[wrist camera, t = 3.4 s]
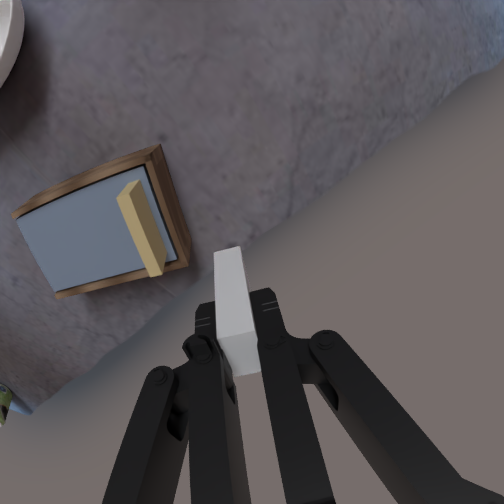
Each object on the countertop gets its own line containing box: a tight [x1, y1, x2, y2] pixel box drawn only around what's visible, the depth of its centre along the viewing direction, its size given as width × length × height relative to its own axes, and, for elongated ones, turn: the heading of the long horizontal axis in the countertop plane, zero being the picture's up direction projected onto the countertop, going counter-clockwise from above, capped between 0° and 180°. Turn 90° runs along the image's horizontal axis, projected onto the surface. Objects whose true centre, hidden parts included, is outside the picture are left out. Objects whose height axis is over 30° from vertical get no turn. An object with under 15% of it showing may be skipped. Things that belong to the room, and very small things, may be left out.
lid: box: [16, 164, 178, 292], centre depth 25 cm, size 17×10×5 cm, turn 102°
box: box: [11, 144, 191, 299], centre depth 29 cm, size 18×12×6 cm, turn 102°
